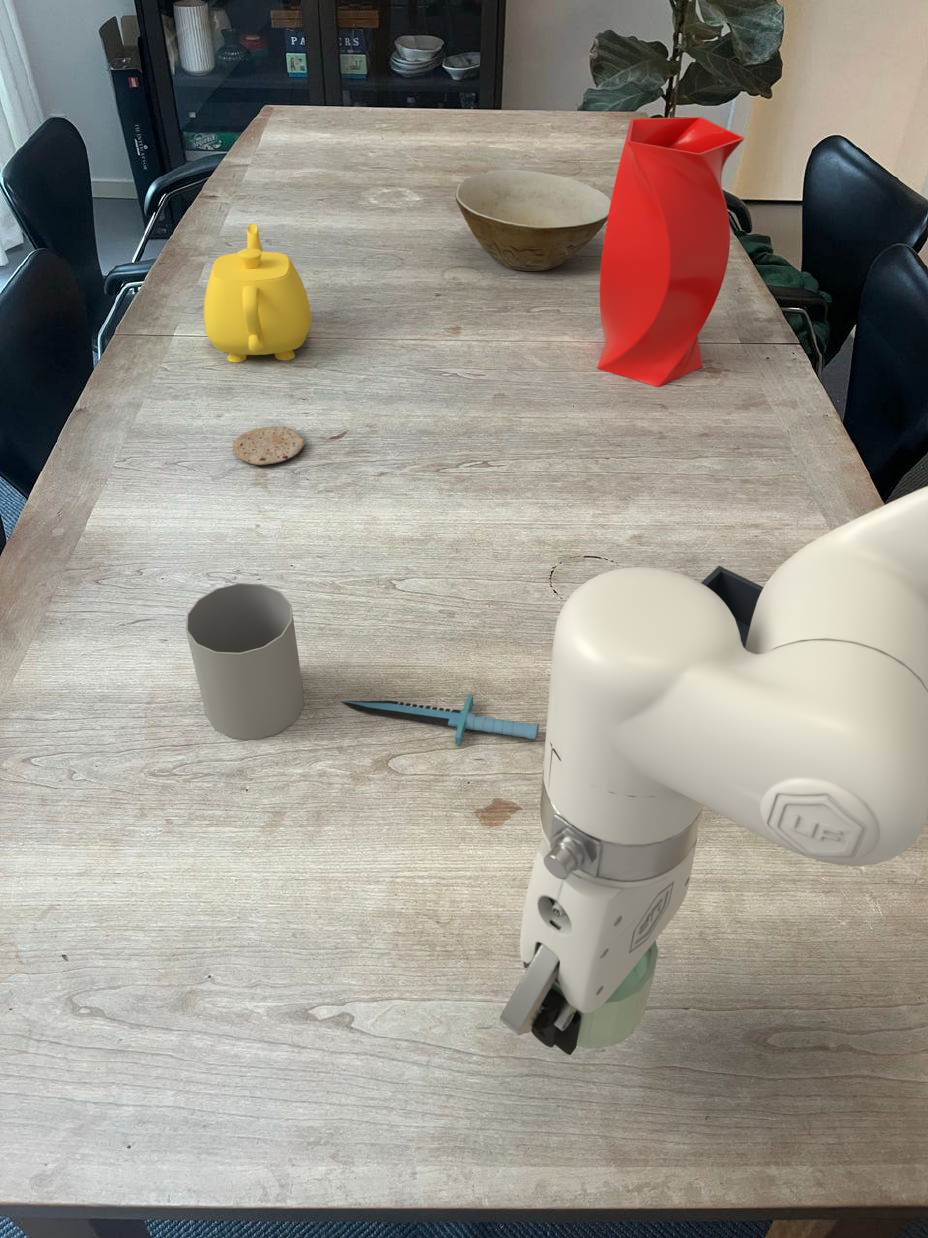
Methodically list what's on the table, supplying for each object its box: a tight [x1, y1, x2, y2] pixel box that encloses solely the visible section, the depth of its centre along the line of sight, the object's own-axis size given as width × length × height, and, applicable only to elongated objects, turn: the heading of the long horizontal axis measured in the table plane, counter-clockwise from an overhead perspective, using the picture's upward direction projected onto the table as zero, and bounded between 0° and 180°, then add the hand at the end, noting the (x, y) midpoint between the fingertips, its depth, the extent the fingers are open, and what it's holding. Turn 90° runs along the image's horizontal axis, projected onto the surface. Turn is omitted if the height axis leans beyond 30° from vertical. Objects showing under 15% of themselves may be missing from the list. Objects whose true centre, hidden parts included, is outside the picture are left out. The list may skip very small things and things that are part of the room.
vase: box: [596, 116, 745, 388], centre depth 123 cm, size 15×14×28 cm
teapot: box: [203, 223, 312, 363], centre depth 130 cm, size 14×20×13 cm
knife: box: [340, 693, 540, 746], centre depth 85 cm, size 17×1×5 cm
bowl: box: [454, 168, 611, 272], centre depth 152 cm, size 24×24×10 cm
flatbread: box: [232, 426, 306, 466], centre depth 115 cm, size 8×8×1 cm
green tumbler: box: [551, 939, 659, 1050], centre depth 58 cm, size 7×7×6 cm
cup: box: [185, 582, 305, 741], centre depth 83 cm, size 8×8×10 cm
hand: (589, 986), depth 59 cm, fingers closed on green tumbler, 6 cm apart
